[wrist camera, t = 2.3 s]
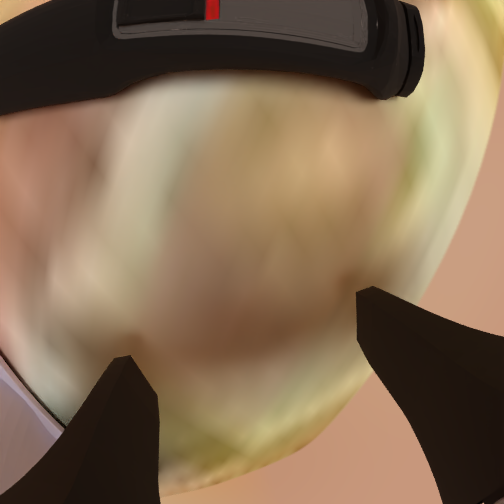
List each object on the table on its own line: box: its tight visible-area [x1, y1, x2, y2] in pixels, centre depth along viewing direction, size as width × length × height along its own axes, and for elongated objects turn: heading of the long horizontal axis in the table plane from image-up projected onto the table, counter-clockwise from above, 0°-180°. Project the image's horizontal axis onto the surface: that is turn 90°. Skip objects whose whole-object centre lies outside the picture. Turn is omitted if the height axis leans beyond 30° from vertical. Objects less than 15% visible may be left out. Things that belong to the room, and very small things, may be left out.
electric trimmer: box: [0, 0, 425, 115], centre depth 5 cm, size 4×16×3 cm, turn 90°
